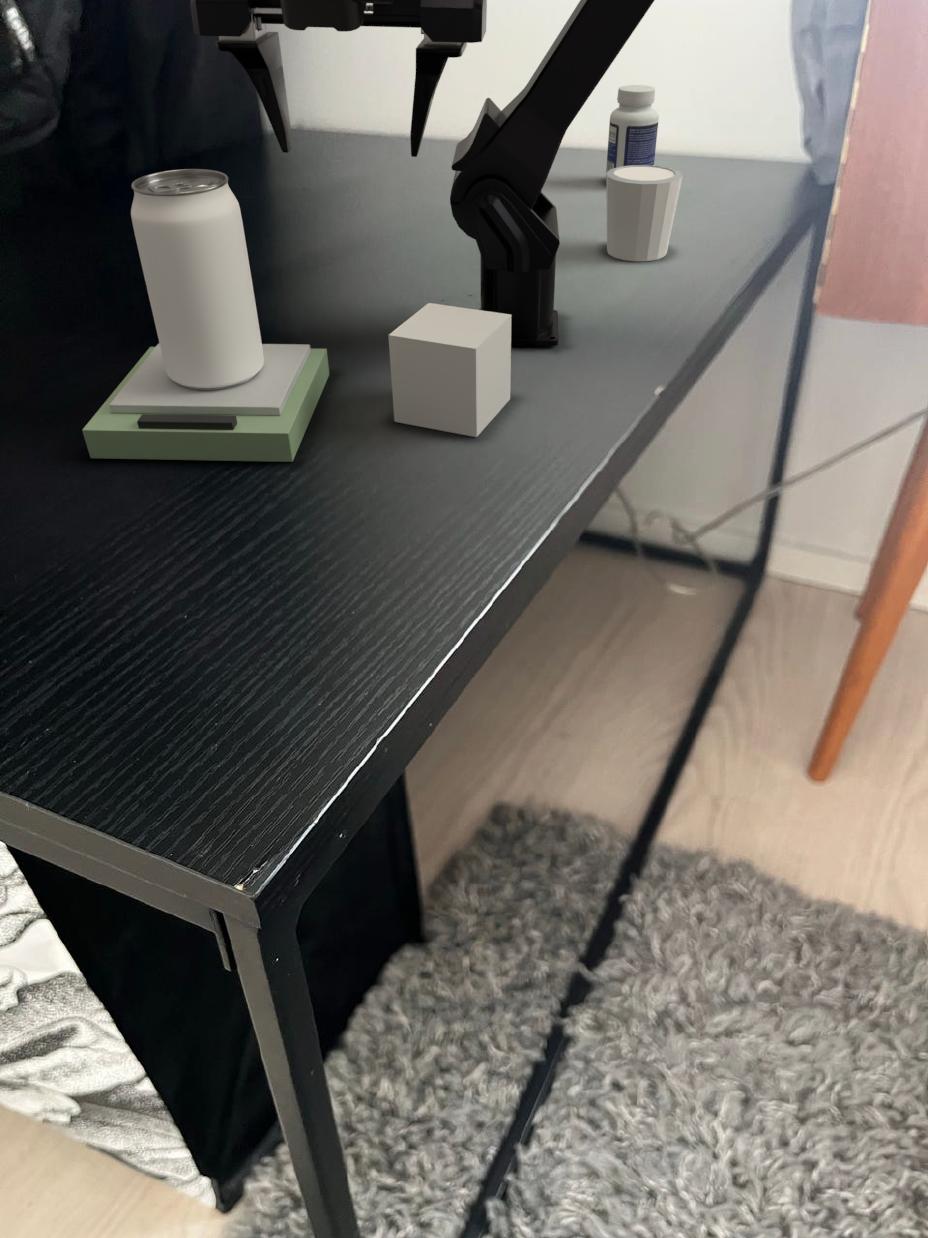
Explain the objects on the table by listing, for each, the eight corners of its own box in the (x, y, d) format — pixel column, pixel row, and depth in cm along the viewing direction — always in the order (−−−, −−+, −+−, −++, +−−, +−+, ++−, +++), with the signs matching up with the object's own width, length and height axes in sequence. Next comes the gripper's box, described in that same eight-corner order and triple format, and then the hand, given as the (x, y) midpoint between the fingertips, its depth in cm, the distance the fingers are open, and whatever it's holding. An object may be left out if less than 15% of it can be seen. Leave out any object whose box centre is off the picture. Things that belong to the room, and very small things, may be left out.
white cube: (510, 399, 65) (512, 314, 61) (476, 437, 61) (476, 348, 57) (431, 385, 67) (428, 302, 63) (393, 421, 63) (388, 334, 59)
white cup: (672, 265, 86) (682, 183, 82) (597, 261, 87) (603, 180, 83) (674, 242, 91) (683, 164, 87) (603, 238, 93) (609, 162, 88)
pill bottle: (659, 180, 109) (669, 85, 103) (640, 191, 106) (649, 93, 100) (617, 174, 112) (624, 81, 106) (597, 185, 108) (603, 89, 102)
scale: (292, 462, 59) (287, 424, 57) (90, 458, 59) (79, 420, 58) (329, 374, 69) (325, 340, 67) (156, 372, 69) (148, 338, 68)
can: (281, 376, 62) (252, 182, 55) (187, 401, 60) (144, 201, 52) (242, 345, 67) (211, 161, 59) (154, 367, 64) (109, 177, 56)
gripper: (139, -130, 51) (187, 177, 61) (479, -124, 50) (473, 187, 60) (199, -129, 60) (233, 139, 70) (490, -124, 59) (483, 147, 69)
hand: (350, 153), depth 67 cm, fingers open, 9 cm apart
